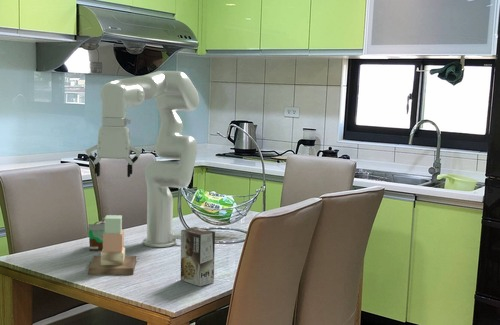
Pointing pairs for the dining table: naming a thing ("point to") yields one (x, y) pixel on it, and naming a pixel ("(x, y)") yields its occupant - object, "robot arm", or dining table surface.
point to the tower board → (112, 266)
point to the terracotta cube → (113, 242)
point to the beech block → (112, 258)
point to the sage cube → (113, 224)
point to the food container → (96, 235)
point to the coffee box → (197, 256)
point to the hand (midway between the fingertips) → (113, 176)
